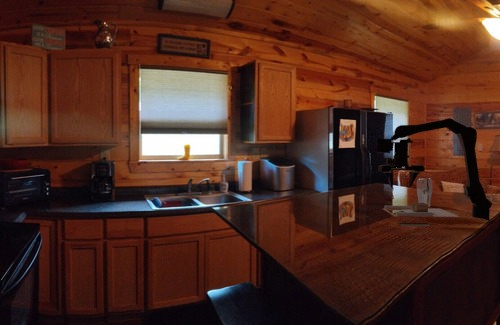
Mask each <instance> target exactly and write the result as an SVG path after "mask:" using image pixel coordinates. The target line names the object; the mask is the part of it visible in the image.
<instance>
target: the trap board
mask: <svg viewBox="0 0 500 325" xmlns="http://www.w3.org/2000/svg"><path fill="white" fill-rule="evenodd" d="M382 210H384V212H387V213H388V214H389V215H391V216H393V217H397V218H398V217H400V218H401V217H409V218H410V217H414V218H415V217H417V218H418V217H419V218H422V217H423V218H427V217H429V218H431V217H433V218H437V217H440V218H441V217H442V218H443V217H446V218H447V217H448V218H450V217H451V218H455V217H456V218H459V217H461V216H460V215H457V214H455V213H452V212H450V211H447V210H444V209H442V208H428V212H412V205H384V208H382ZM391 211H396V212H395V213H393V212H391ZM399 211H402V212H399Z"/></svg>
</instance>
